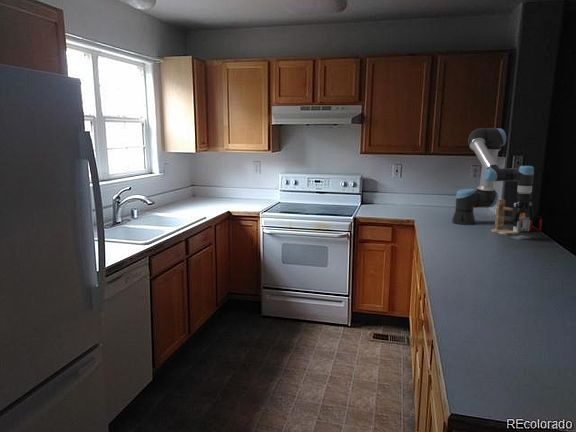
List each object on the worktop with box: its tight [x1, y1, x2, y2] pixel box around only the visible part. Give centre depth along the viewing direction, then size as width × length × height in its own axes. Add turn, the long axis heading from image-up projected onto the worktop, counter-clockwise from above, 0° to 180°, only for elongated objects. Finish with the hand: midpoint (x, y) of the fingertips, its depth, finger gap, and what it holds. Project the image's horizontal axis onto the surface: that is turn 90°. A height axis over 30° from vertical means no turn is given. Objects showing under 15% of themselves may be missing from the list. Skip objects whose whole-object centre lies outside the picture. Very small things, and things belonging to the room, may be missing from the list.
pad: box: [510, 235, 531, 241], centre depth 254 cm, size 6×9×1 cm, turn 111°
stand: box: [490, 199, 520, 236], centre depth 267 cm, size 13×10×20 cm
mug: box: [519, 209, 543, 233], centre depth 274 cm, size 10×14×12 cm
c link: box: [518, 217, 530, 233], centre depth 253 cm, size 8×3×8 cm, turn 111°
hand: (521, 231), depth 254 cm, fingers closed on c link, 8 cm apart
